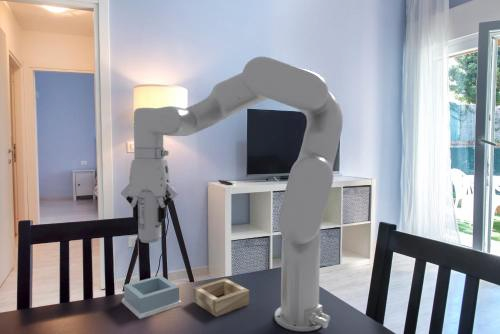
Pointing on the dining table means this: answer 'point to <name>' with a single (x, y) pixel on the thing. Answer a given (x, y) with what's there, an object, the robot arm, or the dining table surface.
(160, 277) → the port socket
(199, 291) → the wooden open box
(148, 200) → the energy drink can
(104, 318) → the dining table surface
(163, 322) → the dining table surface
